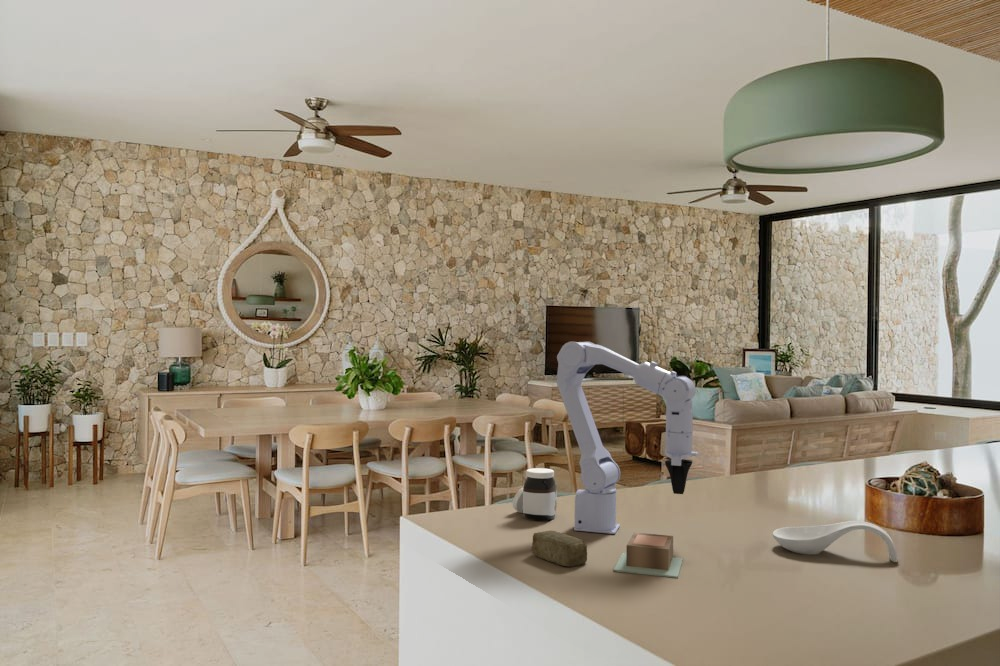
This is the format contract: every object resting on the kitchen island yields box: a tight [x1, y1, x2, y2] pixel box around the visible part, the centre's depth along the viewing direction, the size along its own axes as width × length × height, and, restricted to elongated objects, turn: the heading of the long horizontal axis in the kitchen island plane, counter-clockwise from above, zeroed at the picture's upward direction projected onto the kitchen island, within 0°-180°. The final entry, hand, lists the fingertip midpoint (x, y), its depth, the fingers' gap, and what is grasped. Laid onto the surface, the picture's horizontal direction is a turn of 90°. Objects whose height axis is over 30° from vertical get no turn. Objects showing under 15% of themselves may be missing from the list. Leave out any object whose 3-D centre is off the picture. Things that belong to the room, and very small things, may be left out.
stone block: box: [531, 530, 588, 568], centre depth 149 cm, size 6×12×5 cm, turn 39°
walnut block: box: [626, 532, 674, 570], centre depth 147 cm, size 8×4×10 cm
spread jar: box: [512, 467, 558, 522], centre depth 185 cm, size 12×11×12 cm
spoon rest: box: [772, 520, 899, 563], centre depth 155 cm, size 24×12×7 cm, turn 68°
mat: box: [613, 552, 684, 579], centre depth 145 cm, size 12×12×1 cm
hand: (678, 493), depth 163 cm, fingers closed
